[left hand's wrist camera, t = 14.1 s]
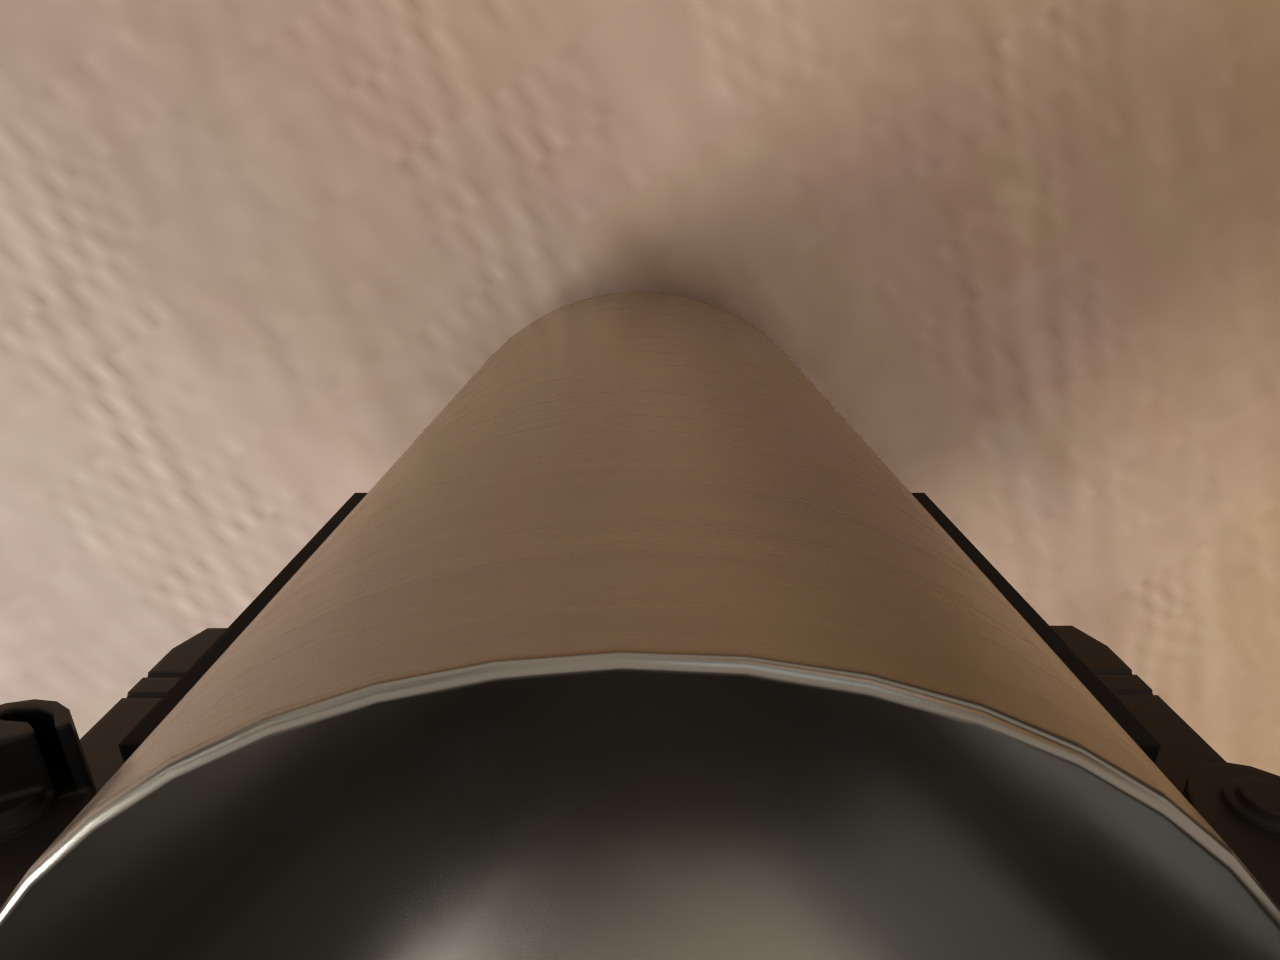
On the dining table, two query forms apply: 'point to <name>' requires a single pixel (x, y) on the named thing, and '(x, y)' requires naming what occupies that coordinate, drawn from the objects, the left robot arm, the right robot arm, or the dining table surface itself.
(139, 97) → the dining table surface
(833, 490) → the tin
